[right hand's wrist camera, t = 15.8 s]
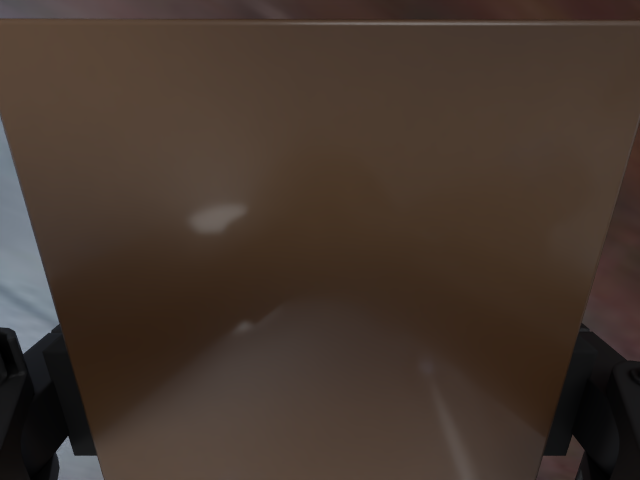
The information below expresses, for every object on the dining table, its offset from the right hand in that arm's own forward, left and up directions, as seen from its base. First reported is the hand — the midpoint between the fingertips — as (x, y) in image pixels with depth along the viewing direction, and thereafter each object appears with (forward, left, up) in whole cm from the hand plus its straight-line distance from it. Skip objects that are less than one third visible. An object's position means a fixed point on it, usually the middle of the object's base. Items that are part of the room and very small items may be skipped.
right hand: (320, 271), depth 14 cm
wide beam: (-16, +18, -1) cm, 24 cm away
